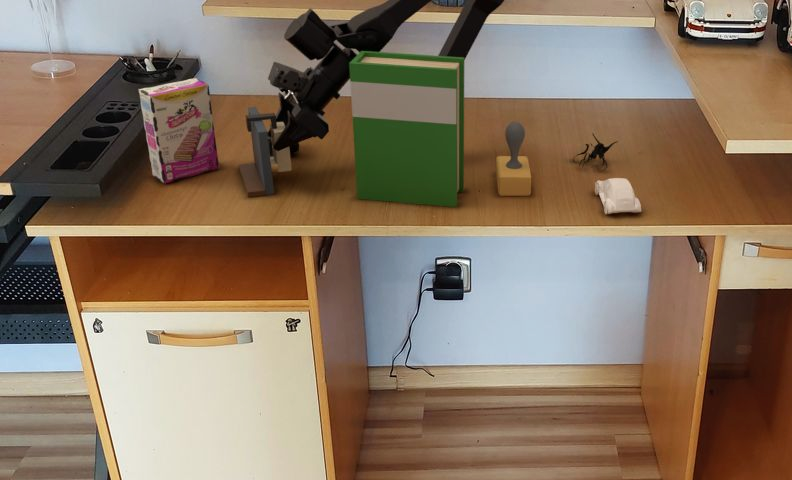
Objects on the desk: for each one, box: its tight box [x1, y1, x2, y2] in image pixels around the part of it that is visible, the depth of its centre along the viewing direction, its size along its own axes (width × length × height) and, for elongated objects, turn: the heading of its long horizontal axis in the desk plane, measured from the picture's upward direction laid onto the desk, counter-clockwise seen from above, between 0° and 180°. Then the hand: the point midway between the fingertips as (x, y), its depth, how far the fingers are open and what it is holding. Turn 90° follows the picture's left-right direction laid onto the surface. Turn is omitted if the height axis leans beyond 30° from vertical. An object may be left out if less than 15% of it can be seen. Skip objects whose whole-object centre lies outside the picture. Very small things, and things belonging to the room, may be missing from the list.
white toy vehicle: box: [594, 177, 642, 215], centre depth 159 cm, size 12×6×5 cm, turn 9°
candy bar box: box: [137, 77, 220, 184], centre depth 162 cm, size 11×5×16 cm, turn 135°
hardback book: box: [349, 51, 465, 208], centre depth 155 cm, size 18×7×24 cm, turn 82°
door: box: [237, 106, 278, 198], centre depth 161 cm, size 6×13×12 cm, turn 21°
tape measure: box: [267, 131, 300, 156], centre depth 175 cm, size 7×7×4 cm
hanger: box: [245, 112, 292, 173], centre depth 161 cm, size 7×5×10 cm
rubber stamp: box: [495, 121, 532, 197], centre depth 162 cm, size 10×6×12 cm, turn 3°
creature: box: [572, 132, 619, 172], centre depth 174 cm, size 8×5×8 cm
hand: (272, 142), depth 161 cm, fingers open, 6 cm apart
